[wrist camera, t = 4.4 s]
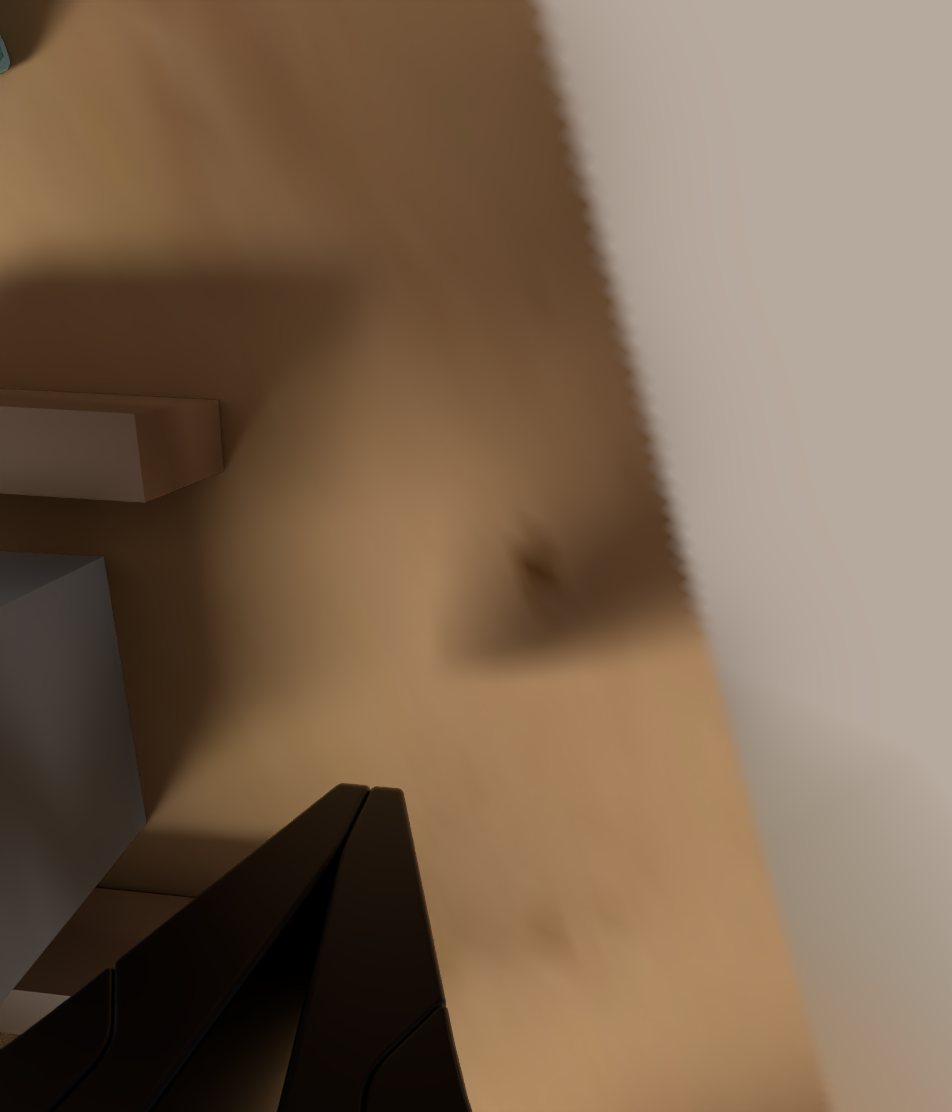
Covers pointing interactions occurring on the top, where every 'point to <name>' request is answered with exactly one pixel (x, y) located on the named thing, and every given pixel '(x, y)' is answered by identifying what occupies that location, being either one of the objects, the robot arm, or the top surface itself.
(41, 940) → the block
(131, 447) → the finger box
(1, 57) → the push button
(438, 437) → the top surface
